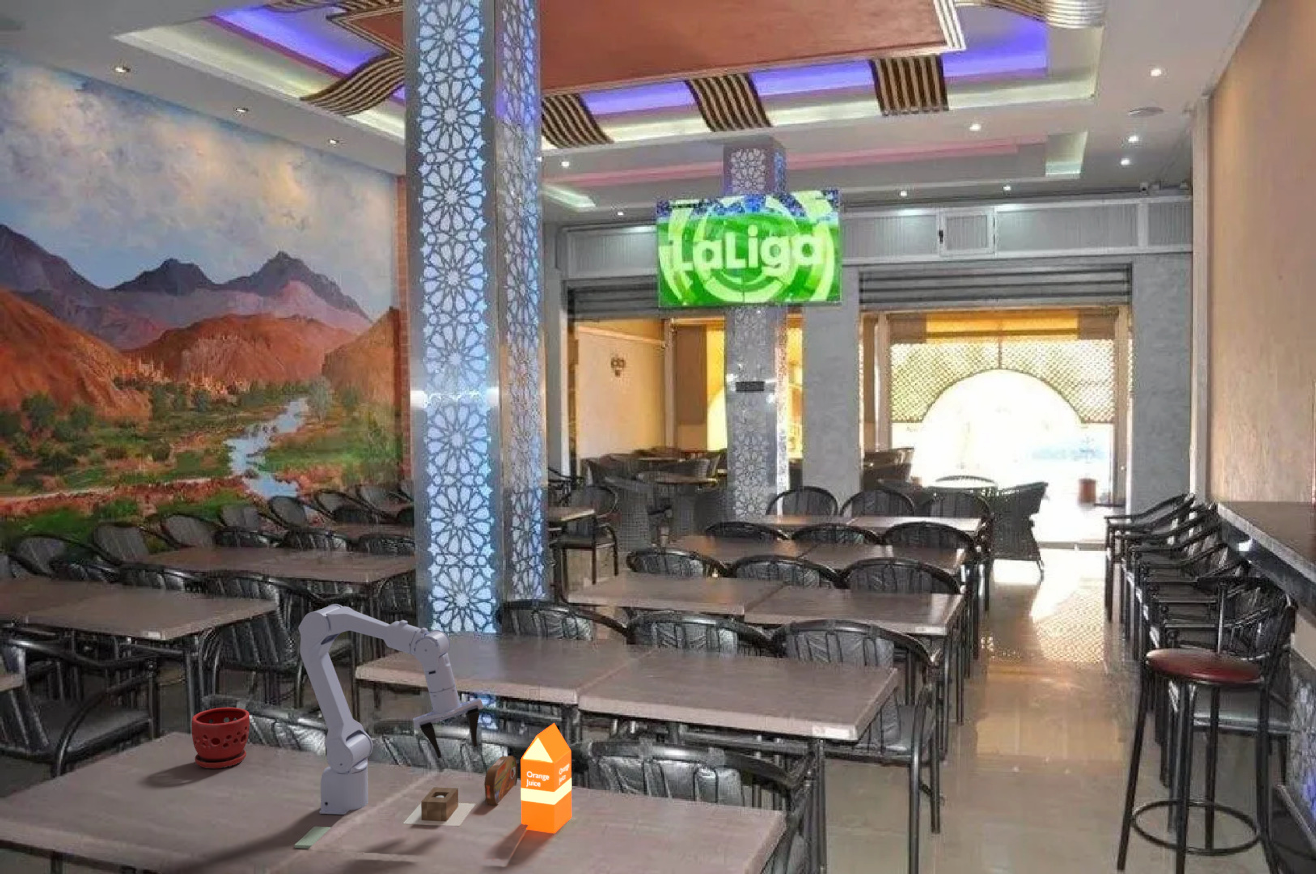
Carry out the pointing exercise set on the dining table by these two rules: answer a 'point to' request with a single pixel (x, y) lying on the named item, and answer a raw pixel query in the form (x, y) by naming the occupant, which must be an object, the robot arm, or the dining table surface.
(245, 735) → the plant pot
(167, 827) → the dining table surface
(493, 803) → the tin
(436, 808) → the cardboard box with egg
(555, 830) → the orange juice
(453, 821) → the stand
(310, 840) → the mat
